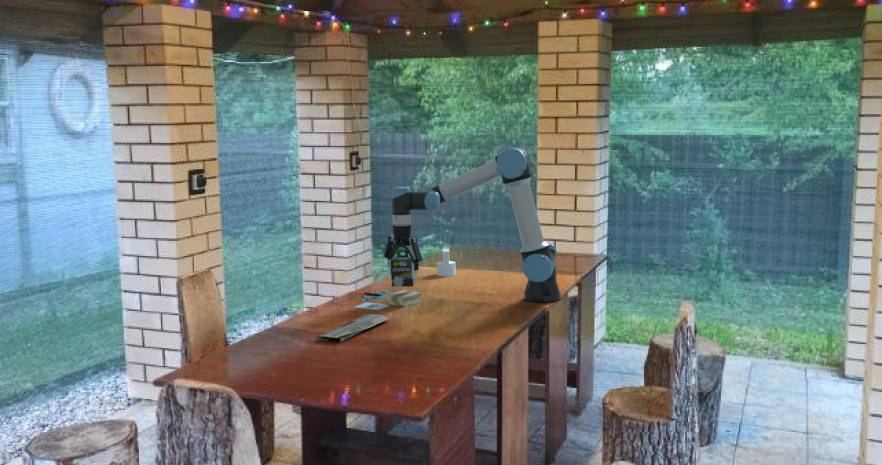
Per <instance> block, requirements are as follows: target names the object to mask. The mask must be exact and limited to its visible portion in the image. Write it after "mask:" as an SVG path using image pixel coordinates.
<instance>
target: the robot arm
mask: <svg viewBox="0 0 882 465" xmlns="http://www.w3.org/2000/svg"><path fill="white" fill-rule="evenodd" d="M530 164H531V157H530V154H529V152H528V151H527V150H526V148H524V147H521V146H518V145H515V146H514V145H513V146H509V147H506V148H504V149H503V150H501V152H500V153H499V154H498V155H496V156H494V157H493V160H491V161H489V162H487V163H484V164H482V165H480V166H477V167H476V168H473V169H471V170H469V171H467V172H465V173H462V174H460V175H457V176H455V177H453V178H451V179H448V180H445V182H442V183H440V184H438V185H436V186H435V185H434V186H433V187H430V188H428V189H426V190H423V191H411V188H410V187H409V186H394V187H392V189H391V209H392V211H391V212H392V215H391V216H392V224H393V225H392V234H393V235H391V234H390V235H387V236H388V237H387V244H386V246H385V251H384V254H383V257H384V258H386V259H387V264H388V265H387V266H388V269H389V270H388V272H389V273H388V274H389V276H391V261H390V260H391V259H392V257H394V256H396V255H397V250H399V248H404V250H407V252H408V255H410V257H411V259H412V261H413V262H412V279H414V278H416V279H417V278H419V268H420V266H419V265H420V264H419V262H422V261H423V260H424V259H423V257H422V253H421V251H420V248H419V245H418V238H417V237H411V234H412V225H411V224H412V216H411V215H412V214H411V211H438V210H439V209H440V206H441V204H443V203H445V202H447V201H450V200H451V199H454V198H456V197H458V196H461V195H463V194H466V193H468V192H470V191H473V190H474V189H477V188H479V187H482V186H484V185H486V184H488V183H490V182H491V183H492V182H493V181H495V180H497V179H500V178H501V181H502V185H503V186H505V187H507V189H508V193H509V197H510V200H511V204H512V209H513V212H514V217H515V221H516V224H517V229H518V232H519V237H520V240H521V245H522V247H521V248H520V250H519V252H520V257H521V260H522V271H523V272H522V273H523V274H524V276H525V277H526V278H527V284H526V286H525V290H524V293H523V298H524V300H525V301H528V302H533V303H552V302H553V303H554V302H557V301H559V300H561V299H562V298H561V297H562V296H561V295H562V294H561V290H560V287H559V283H558V281H557V246H556V244H553V243H548V242H546V241H545V240H544V236H543V232H542V228H541V224H540V221H539V216H538V212H537V208H536V204H535V200H534V196H533V192H532V188H531V184H530V181H531V180H532V178H533V176H532V172H531V171H532V170H531V169H530Z"/></svg>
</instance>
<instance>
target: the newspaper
mask: <svg viewBox="0 0 882 465" xmlns="http://www.w3.org/2000/svg"><path fill="white" fill-rule="evenodd" d="M387 320H390V317H388V316H386V315H381V314H373V313H371V314H363V315H362V316H360V317H358V318H355V319H353V320H350V321H349V322H347V323H344V324H343V325H340V326H338V327H336V328H334V329H332V330H329V331H327V332H325V333H323V334H321V335H318V336H317V337H316V338H315V339H316V341H328V340H330V339H333V338H335V339H339V340H340V341H339V344H340V343H342V342H344V341H347V340H349V339H350V338H352V337H354V336H356V335H359V334H360V333H363V332H365V331H367V330H369V329H371V328H373V327H375V326H377V325H378V324H381V323H383V322H385V321H387Z"/></svg>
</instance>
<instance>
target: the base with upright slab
mask: <svg viewBox="0 0 882 465" xmlns="http://www.w3.org/2000/svg"><path fill="white" fill-rule="evenodd" d="M456 265H457V264H456V261H454V260H450V248H442V261H438V262H436V275H437V277H442V276H443V277H444V278H445V277H454V276H456V275H457V270H456V268H457V267H456Z"/></svg>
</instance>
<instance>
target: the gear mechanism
mask: <svg viewBox="0 0 882 465" xmlns="http://www.w3.org/2000/svg"><path fill="white" fill-rule="evenodd" d="M376 288H377V290H376V291H371V292H363V295H364V296H363V297H362V299H361V302H363V303H365V302H366V301H371V300H372V299H376V300H381V299H383V298H387V294H389V293H390V290H385V289H384V290H383V289H382V290H379V285H377V286H376Z"/></svg>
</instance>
